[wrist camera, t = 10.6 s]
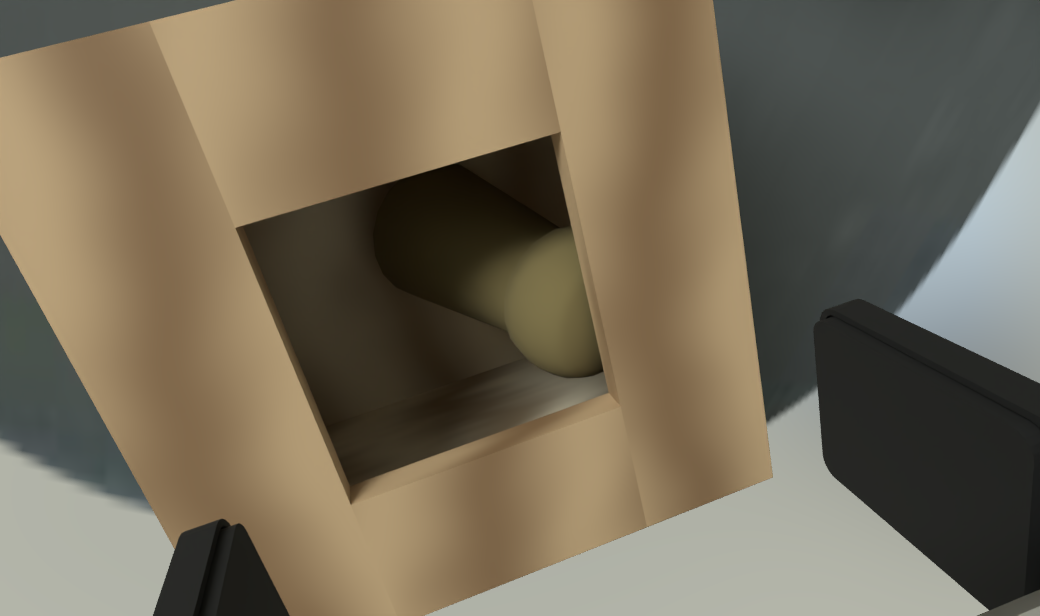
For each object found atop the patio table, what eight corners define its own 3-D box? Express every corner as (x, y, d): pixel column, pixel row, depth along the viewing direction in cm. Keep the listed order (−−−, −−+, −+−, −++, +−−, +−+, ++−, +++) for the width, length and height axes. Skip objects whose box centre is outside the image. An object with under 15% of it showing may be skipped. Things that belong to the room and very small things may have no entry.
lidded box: (539, -33, 30) (698, -113, 17) (617, 335, 36) (773, 477, 24) (111, 76, 27) (-87, 78, 14) (280, 451, 34) (249, 684, 21)
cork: (464, 307, 32) (633, 413, 25) (352, 280, 28) (513, 396, 20) (511, 186, 32) (701, 255, 24) (403, 140, 28) (591, 205, 20)
